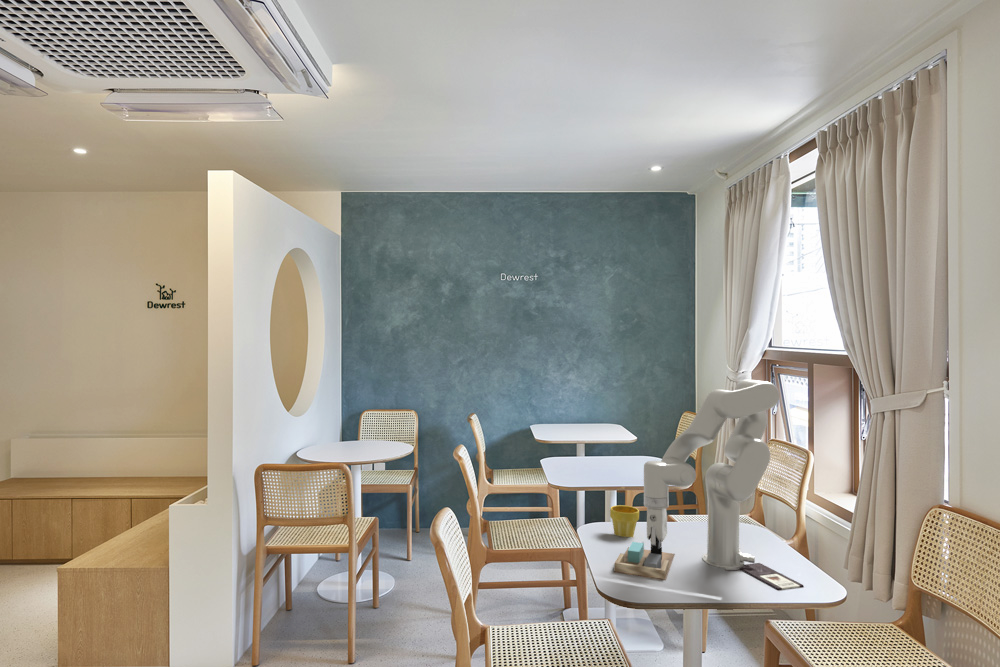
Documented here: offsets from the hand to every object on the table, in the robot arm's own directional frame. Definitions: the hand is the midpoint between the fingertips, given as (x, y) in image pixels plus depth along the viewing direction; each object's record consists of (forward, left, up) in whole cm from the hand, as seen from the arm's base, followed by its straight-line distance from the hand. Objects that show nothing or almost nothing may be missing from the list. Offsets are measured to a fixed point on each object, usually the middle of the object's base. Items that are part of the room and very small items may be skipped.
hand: (656, 559), depth 187 cm
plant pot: (+15, -25, -2) cm, 29 cm away
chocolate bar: (-32, -6, -3) cm, 33 cm away
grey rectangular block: (0, +6, -1) cm, 6 cm away
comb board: (+3, +1, -2) cm, 4 cm away
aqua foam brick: (+7, -2, -1) cm, 7 cm away
